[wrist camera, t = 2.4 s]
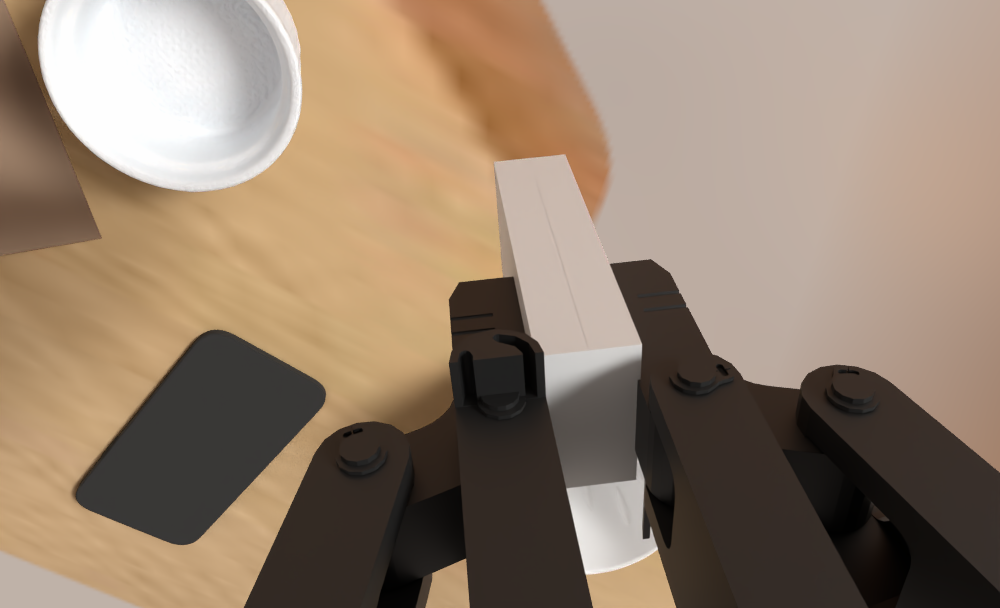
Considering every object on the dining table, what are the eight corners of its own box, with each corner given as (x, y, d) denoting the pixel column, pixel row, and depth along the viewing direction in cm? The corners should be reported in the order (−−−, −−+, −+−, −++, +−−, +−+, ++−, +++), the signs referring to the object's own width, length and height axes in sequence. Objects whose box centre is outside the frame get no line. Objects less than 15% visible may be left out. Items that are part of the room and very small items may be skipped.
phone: (335, 395, 41) (188, 551, 46) (336, 384, 42) (192, 540, 47) (208, 325, 38) (66, 501, 43) (211, 315, 39) (71, 490, 44)
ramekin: (69, 109, 32) (27, 151, 28) (92, -119, 28) (45, -103, 24) (286, 174, 34) (271, 220, 31) (339, -25, 30) (329, 2, 26)
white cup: (472, 417, 43) (487, 568, 35) (509, 302, 39) (536, 441, 31) (604, 435, 45) (648, 582, 37) (653, 326, 41) (714, 464, 33)
